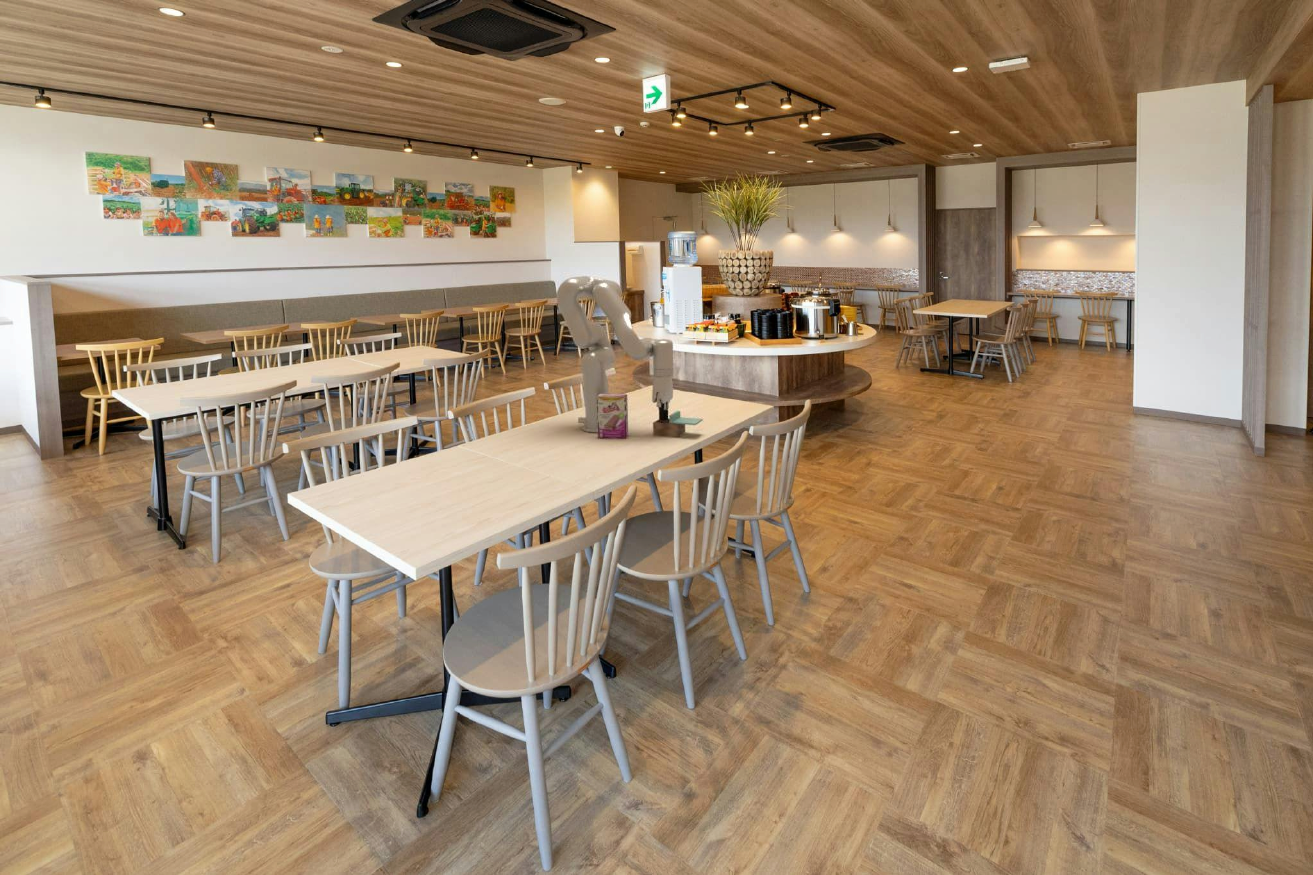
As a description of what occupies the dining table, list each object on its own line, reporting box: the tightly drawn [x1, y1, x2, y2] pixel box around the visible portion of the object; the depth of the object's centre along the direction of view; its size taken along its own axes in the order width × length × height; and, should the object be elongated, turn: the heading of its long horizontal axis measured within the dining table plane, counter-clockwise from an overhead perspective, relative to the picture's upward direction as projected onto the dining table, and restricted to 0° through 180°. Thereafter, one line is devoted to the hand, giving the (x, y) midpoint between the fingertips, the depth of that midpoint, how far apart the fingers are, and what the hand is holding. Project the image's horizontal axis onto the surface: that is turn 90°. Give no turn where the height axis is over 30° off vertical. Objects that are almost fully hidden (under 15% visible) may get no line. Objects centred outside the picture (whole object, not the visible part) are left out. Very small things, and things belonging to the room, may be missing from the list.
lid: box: [668, 410, 704, 426], centre depth 278 cm, size 10×8×3 cm
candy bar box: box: [597, 393, 629, 439], centre depth 278 cm, size 11×5×16 cm, turn 84°
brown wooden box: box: [652, 417, 686, 438], centre depth 282 cm, size 10×8×5 cm
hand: (663, 419), depth 282 cm, fingers closed
